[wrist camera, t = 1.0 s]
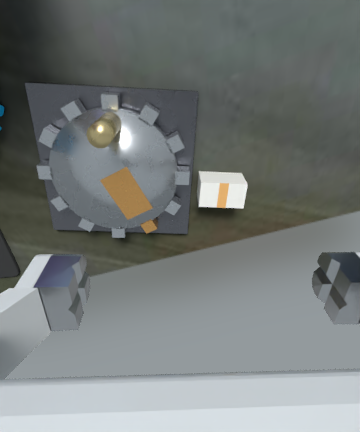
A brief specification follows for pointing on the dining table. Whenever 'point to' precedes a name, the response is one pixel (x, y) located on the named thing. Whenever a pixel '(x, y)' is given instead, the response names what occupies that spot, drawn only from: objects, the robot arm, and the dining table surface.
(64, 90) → the base plate
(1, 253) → the phone
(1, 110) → the blue splat toy
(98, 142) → the sprocket
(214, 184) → the link block
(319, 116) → the dining table surface
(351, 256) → the robot arm
